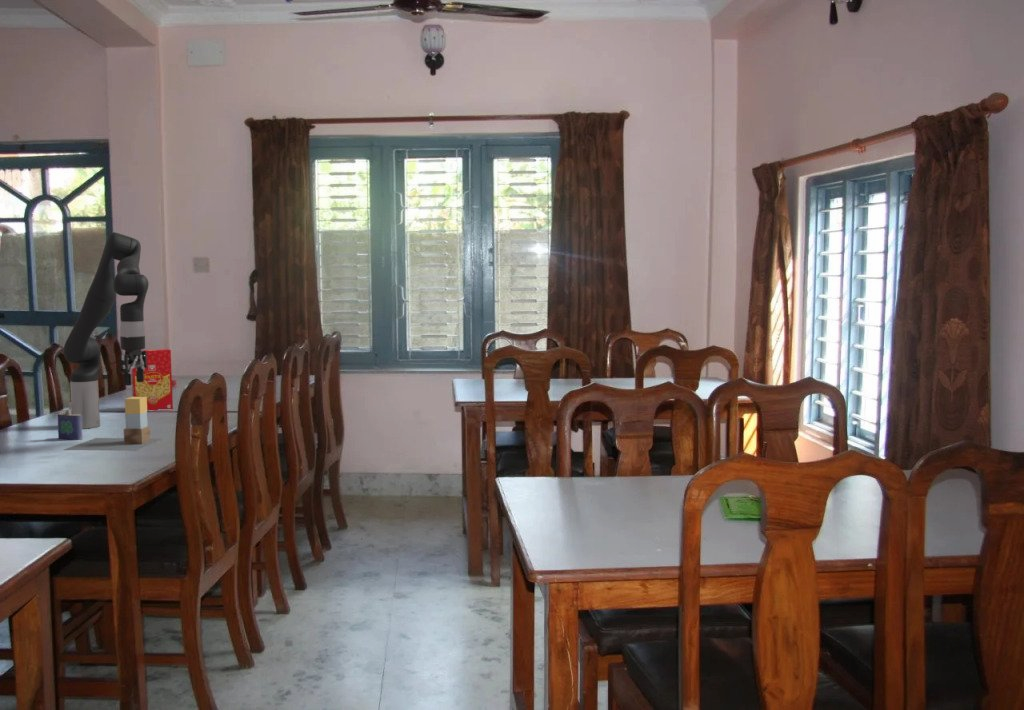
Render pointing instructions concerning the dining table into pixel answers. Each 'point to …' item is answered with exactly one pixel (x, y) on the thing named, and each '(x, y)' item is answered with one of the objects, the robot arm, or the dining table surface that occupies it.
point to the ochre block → (135, 405)
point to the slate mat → (111, 444)
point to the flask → (69, 426)
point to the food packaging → (155, 380)
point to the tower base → (137, 435)
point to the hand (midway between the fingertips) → (134, 383)
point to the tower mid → (136, 421)
